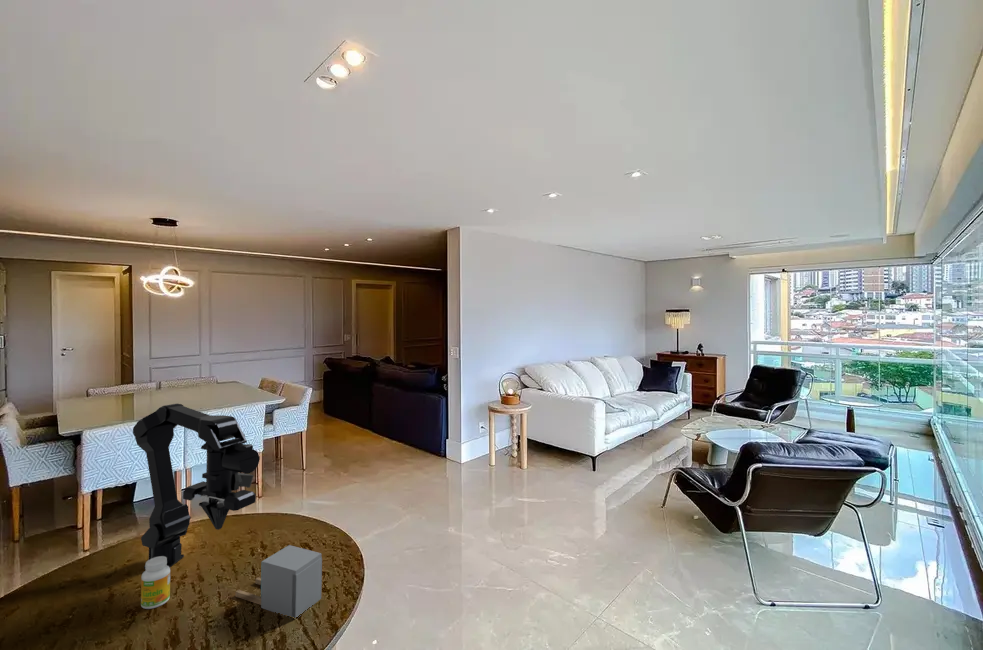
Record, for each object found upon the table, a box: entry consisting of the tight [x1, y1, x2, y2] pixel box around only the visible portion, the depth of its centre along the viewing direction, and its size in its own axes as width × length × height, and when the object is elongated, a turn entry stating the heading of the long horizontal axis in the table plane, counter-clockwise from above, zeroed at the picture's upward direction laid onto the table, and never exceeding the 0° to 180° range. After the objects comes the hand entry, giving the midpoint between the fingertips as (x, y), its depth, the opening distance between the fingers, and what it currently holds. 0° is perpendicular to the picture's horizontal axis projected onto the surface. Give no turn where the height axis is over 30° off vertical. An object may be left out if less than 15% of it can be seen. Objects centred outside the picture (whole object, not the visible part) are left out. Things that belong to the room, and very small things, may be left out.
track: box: [235, 576, 261, 606], centre depth 106 cm, size 9×6×1 cm
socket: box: [260, 544, 323, 618], centre depth 103 cm, size 10×8×11 cm
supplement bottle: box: [140, 556, 171, 610], centre depth 102 cm, size 5×5×10 cm
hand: (218, 528), depth 111 cm, fingers closed
